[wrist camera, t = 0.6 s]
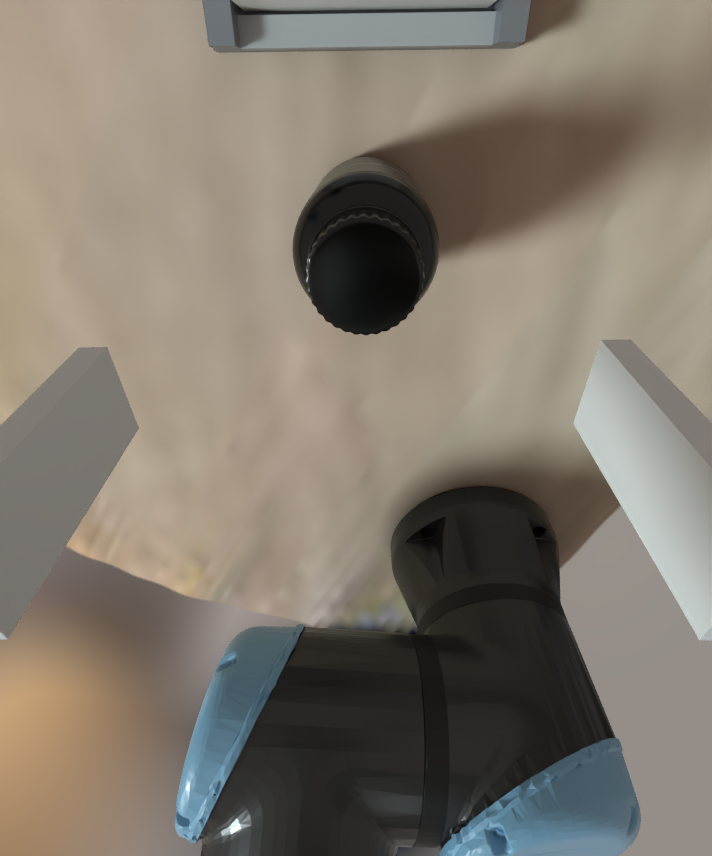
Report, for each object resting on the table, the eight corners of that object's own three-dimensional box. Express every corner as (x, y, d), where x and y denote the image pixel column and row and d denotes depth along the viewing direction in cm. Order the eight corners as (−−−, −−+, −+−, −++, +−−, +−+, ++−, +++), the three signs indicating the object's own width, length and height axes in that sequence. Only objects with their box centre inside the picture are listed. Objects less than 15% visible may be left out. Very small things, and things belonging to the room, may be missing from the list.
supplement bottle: (385, 126, 26) (400, 139, 16) (441, 237, 29) (484, 305, 19) (286, 201, 28) (244, 253, 18) (349, 296, 31) (343, 384, 21)
